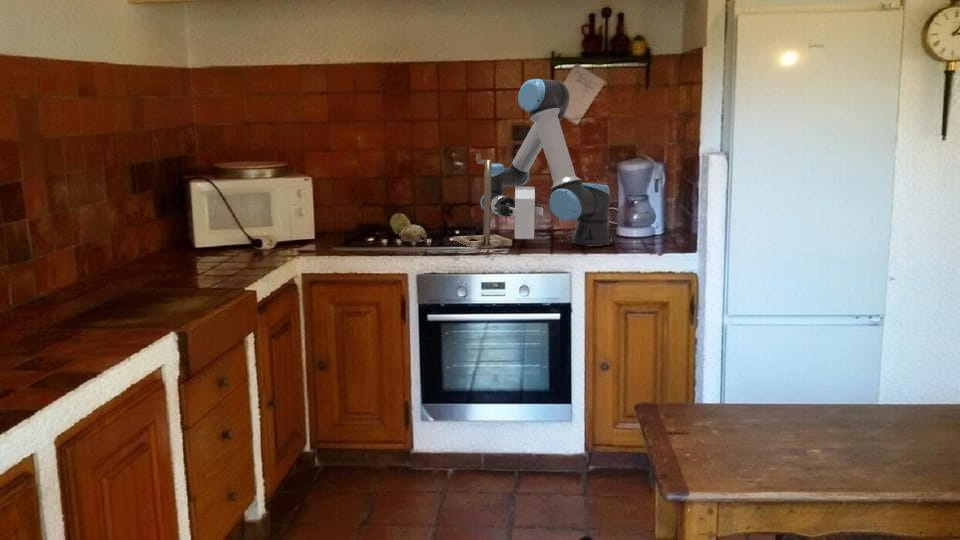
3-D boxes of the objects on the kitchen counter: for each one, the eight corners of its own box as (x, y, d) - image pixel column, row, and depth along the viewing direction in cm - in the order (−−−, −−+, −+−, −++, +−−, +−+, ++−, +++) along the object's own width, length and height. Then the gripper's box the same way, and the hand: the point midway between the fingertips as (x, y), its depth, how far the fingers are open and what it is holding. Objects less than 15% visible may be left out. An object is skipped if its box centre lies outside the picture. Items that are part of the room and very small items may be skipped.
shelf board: (496, 239, 358) (496, 234, 357) (511, 245, 345) (512, 240, 345) (453, 241, 351) (453, 236, 350) (467, 247, 338) (467, 242, 338)
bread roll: (411, 252, 348) (419, 234, 345) (392, 238, 352) (399, 220, 349) (426, 248, 356) (434, 231, 353) (407, 235, 360) (414, 217, 357)
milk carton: (534, 239, 339) (535, 187, 335) (514, 239, 339) (515, 187, 335) (533, 236, 346) (534, 186, 342) (514, 236, 346) (515, 185, 342)
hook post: (482, 243, 349) (484, 153, 343) (494, 247, 339) (496, 155, 333) (470, 243, 347) (471, 153, 341) (481, 248, 337) (483, 155, 331)
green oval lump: (390, 236, 360) (391, 216, 359) (389, 232, 373) (389, 212, 371) (412, 236, 361) (412, 216, 360) (410, 232, 374) (410, 212, 372)
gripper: (529, 214, 362) (556, 221, 341) (477, 216, 353) (502, 223, 333) (529, 195, 360) (556, 200, 340) (477, 197, 352) (502, 203, 331)
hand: (530, 212), depth 336 cm, fingers closed on milk carton, 9 cm apart
